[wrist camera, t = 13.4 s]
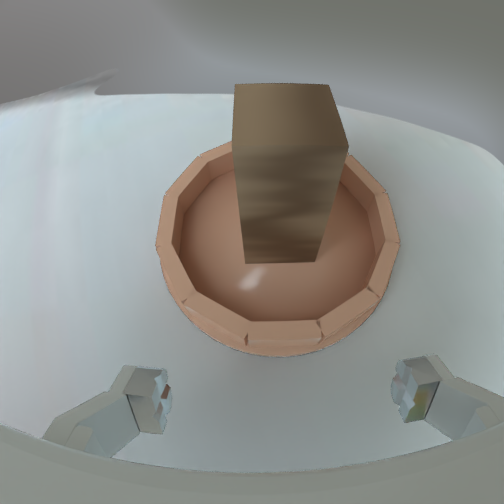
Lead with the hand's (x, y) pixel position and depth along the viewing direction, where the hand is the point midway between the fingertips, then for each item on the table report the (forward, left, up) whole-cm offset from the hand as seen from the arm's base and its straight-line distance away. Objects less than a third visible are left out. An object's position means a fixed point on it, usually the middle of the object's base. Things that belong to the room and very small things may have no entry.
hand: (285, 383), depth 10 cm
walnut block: (0, +10, -7) cm, 12 cm away
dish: (0, +10, -8) cm, 13 cm away
